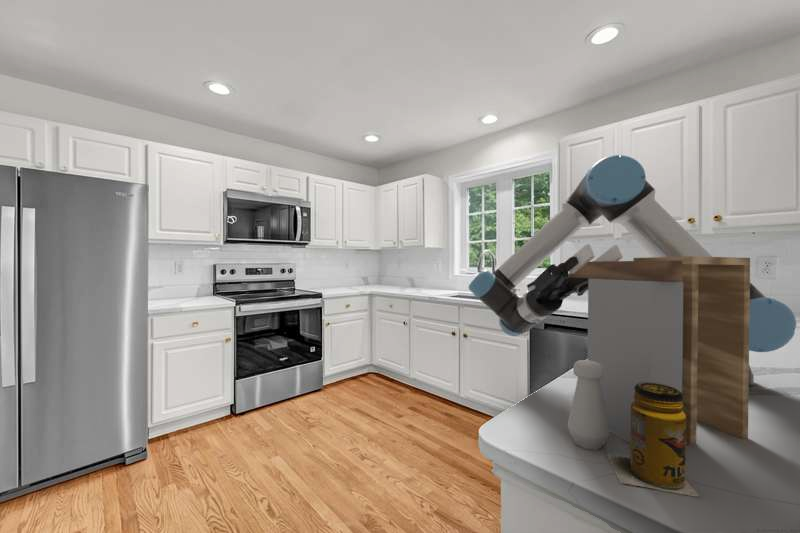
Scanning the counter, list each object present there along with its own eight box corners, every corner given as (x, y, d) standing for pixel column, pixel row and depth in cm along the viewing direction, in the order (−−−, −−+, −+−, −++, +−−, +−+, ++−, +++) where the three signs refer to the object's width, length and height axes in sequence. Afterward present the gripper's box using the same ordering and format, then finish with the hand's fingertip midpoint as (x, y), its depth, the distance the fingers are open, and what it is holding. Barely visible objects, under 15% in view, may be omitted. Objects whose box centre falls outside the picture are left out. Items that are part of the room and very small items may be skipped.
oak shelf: (682, 411, 70) (684, 259, 70) (748, 438, 59) (750, 257, 59) (631, 416, 67) (633, 257, 67) (690, 444, 57) (692, 256, 57)
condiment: (699, 498, 44) (701, 399, 44) (620, 484, 46) (622, 391, 46) (674, 466, 51) (675, 381, 51) (606, 456, 53) (607, 375, 53)
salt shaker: (614, 455, 53) (615, 368, 53) (573, 450, 54) (574, 365, 54) (600, 436, 59) (601, 358, 59) (563, 433, 60) (564, 356, 60)
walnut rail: (582, 277, 74) (582, 262, 74) (682, 281, 54) (682, 260, 54) (569, 277, 74) (569, 262, 74) (664, 281, 53) (664, 260, 53)
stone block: (613, 415, 68) (615, 278, 68) (681, 449, 55) (683, 281, 55) (586, 417, 66) (588, 278, 67) (649, 453, 54) (651, 281, 54)
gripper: (578, 316, 86) (654, 268, 67) (508, 317, 82) (568, 267, 63) (567, 288, 90) (637, 235, 70) (501, 288, 86) (554, 232, 66)
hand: (604, 251), depth 67 cm, fingers open, 5 cm apart
